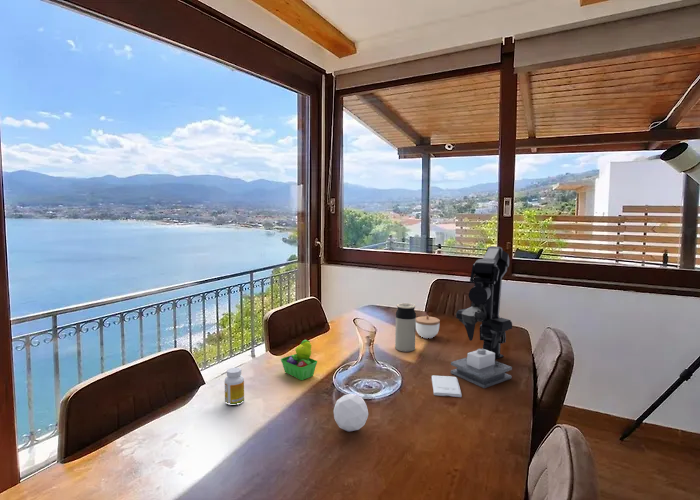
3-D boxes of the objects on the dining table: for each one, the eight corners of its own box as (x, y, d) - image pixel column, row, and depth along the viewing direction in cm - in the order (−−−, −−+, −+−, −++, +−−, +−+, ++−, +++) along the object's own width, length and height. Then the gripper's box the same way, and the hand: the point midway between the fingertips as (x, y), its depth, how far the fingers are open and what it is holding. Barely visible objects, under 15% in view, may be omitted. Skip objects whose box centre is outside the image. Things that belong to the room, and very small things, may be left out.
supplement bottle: (248, 399, 118) (247, 367, 117) (237, 408, 113) (236, 374, 112) (232, 396, 119) (231, 365, 118) (221, 405, 114) (220, 372, 113)
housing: (467, 364, 136) (467, 350, 135) (482, 359, 140) (483, 345, 139) (479, 369, 131) (479, 354, 131) (494, 364, 136) (495, 350, 135)
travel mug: (392, 350, 160) (393, 306, 158) (398, 344, 167) (399, 302, 166) (412, 353, 157) (413, 308, 155) (416, 346, 164) (418, 303, 163)
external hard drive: (456, 381, 133) (461, 398, 121) (431, 379, 134) (433, 396, 122) (456, 376, 133) (461, 393, 120) (431, 375, 134) (433, 391, 122)
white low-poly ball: (369, 434, 97) (375, 415, 108) (359, 396, 97) (366, 382, 109) (335, 441, 98) (345, 422, 110) (325, 404, 99) (336, 389, 111)
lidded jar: (442, 335, 180) (443, 314, 179) (434, 341, 171) (434, 320, 170) (420, 331, 186) (420, 311, 185) (410, 337, 177) (411, 316, 176)
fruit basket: (279, 373, 137) (279, 341, 136) (299, 366, 143) (299, 335, 142) (301, 383, 129) (300, 349, 128) (321, 375, 136) (321, 342, 135)
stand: (477, 364, 146) (477, 354, 145) (511, 378, 134) (511, 366, 134) (450, 373, 138) (450, 361, 138) (484, 388, 126) (484, 376, 126)
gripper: (445, 296, 137) (444, 340, 138) (491, 307, 121) (489, 357, 123) (467, 292, 143) (466, 335, 144) (514, 303, 127) (511, 350, 129)
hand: (481, 344), depth 135 cm, fingers open, 9 cm apart
